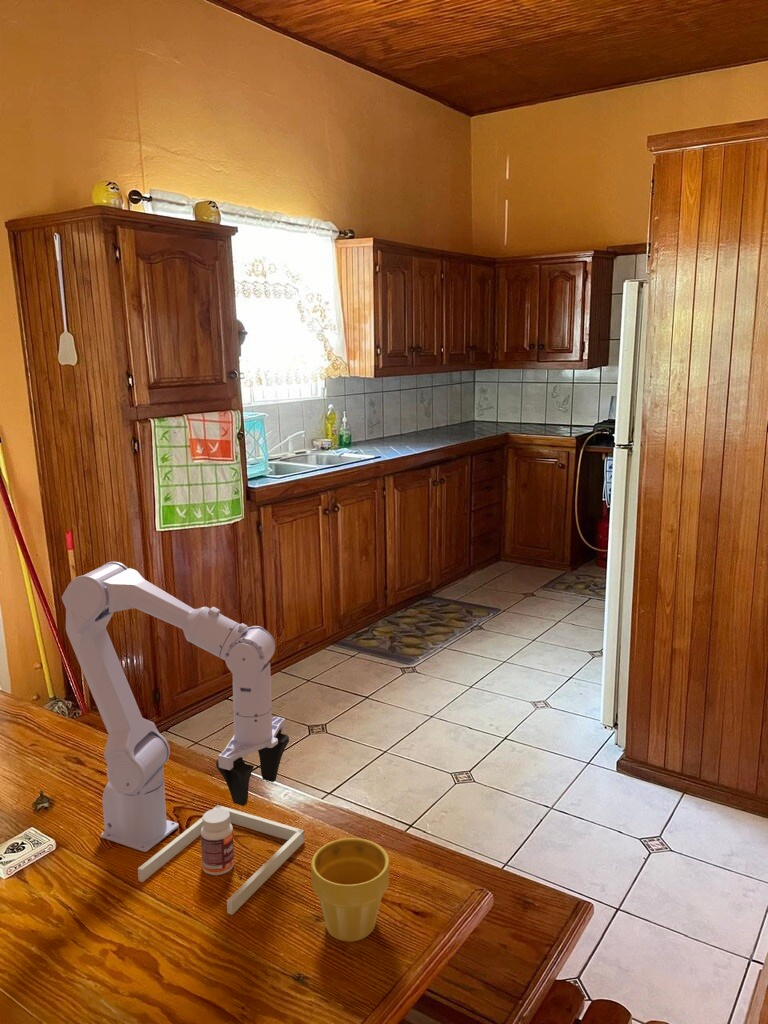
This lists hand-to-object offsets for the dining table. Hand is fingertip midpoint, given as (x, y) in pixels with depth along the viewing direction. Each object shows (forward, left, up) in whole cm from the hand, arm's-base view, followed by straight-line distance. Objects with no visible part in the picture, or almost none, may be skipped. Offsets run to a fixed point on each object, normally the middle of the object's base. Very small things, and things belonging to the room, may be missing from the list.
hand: (254, 791), depth 123 cm
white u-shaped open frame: (-2, -5, -9) cm, 11 cm away
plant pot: (+22, -9, -10) cm, 25 cm away
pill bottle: (-2, -7, -10) cm, 12 cm away
